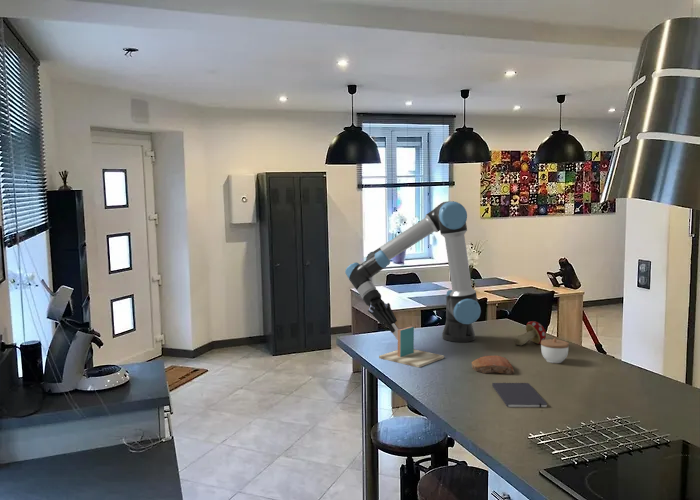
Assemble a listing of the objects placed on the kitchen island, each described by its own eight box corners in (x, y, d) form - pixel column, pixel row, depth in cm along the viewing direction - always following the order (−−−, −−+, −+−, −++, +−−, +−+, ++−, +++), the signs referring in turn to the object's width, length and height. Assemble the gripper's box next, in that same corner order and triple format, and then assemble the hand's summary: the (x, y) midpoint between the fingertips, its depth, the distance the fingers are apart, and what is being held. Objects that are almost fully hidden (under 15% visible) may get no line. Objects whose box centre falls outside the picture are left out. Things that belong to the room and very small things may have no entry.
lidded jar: (564, 357, 242) (565, 335, 242) (571, 365, 232) (572, 341, 231) (537, 357, 243) (538, 335, 243) (543, 364, 233) (544, 341, 232)
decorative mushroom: (513, 327, 260) (540, 313, 264) (505, 335, 269) (531, 322, 274) (527, 349, 256) (554, 335, 260) (518, 357, 265) (545, 343, 269)
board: (378, 358, 243) (378, 355, 243) (405, 349, 256) (405, 347, 256) (418, 367, 229) (418, 364, 229) (444, 358, 243) (444, 355, 243)
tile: (397, 356, 242) (397, 330, 241) (410, 351, 248) (410, 326, 247) (400, 356, 241) (400, 330, 240) (413, 352, 247) (413, 326, 246)
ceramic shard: (468, 350, 235) (506, 356, 235) (466, 366, 235) (504, 372, 235) (476, 355, 220) (516, 361, 220) (474, 372, 220) (513, 378, 220)
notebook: (492, 387, 207) (507, 408, 186) (492, 382, 207) (507, 404, 186) (528, 387, 207) (548, 409, 186) (528, 382, 207) (548, 404, 186)
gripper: (374, 297, 262) (404, 340, 252) (355, 301, 253) (385, 345, 243) (383, 286, 258) (414, 329, 248) (364, 290, 248) (395, 335, 239)
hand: (399, 337), depth 246 cm, fingers closed
